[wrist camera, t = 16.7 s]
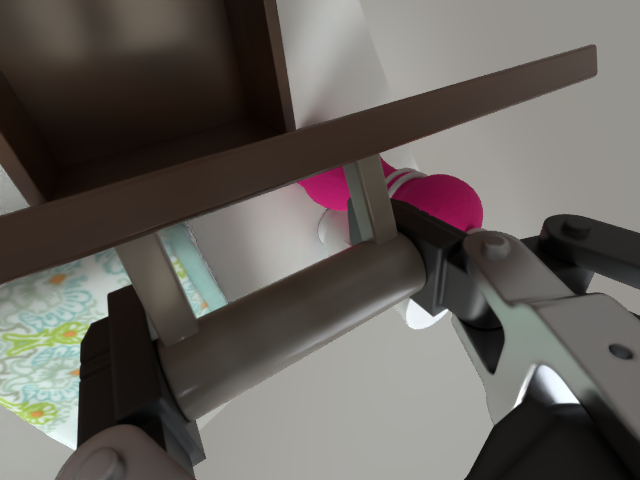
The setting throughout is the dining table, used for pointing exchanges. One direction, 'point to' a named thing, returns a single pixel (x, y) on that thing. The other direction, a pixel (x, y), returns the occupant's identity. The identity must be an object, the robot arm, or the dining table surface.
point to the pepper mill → (407, 194)
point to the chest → (133, 87)
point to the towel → (75, 328)
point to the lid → (251, 181)
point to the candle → (338, 239)
